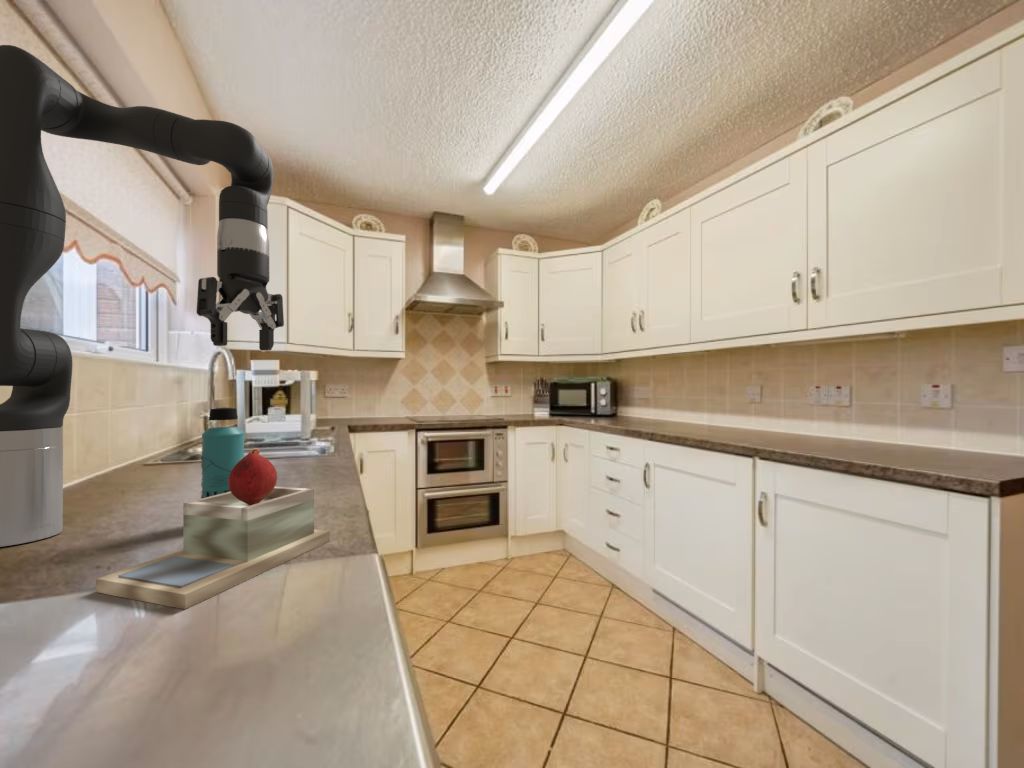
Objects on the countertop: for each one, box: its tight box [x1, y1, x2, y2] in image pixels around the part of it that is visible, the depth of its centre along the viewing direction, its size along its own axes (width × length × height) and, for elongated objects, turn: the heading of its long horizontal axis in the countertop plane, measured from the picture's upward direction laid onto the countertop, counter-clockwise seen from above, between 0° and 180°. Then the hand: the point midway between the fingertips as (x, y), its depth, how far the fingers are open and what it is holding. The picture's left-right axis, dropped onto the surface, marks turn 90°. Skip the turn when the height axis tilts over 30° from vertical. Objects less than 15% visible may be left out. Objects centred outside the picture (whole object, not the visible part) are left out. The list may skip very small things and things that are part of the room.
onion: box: [228, 447, 278, 505], centre depth 60 cm, size 6×6×8 cm
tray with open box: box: [95, 486, 331, 610], centre depth 56 cm, size 14×21×8 cm, turn 162°
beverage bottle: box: [200, 407, 245, 499], centre depth 75 cm, size 6×7×20 cm
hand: (244, 348), depth 72 cm, fingers open, 8 cm apart
